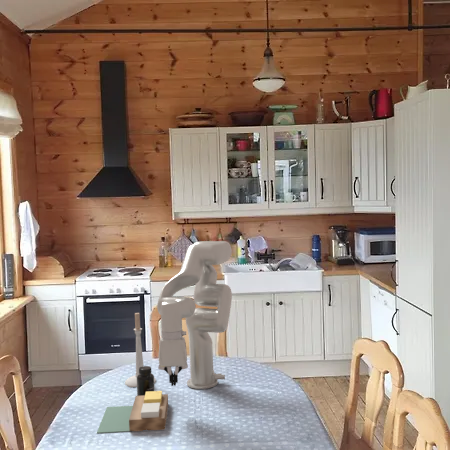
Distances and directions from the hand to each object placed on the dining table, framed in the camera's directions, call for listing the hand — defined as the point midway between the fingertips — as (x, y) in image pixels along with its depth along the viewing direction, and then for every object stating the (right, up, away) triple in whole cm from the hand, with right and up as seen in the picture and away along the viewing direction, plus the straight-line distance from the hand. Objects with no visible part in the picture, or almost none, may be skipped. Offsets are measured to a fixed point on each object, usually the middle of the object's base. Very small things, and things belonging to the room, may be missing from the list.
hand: (173, 384), depth 214 cm
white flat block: (-7, -7, -11) cm, 14 cm away
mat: (-19, -11, -5) cm, 23 cm away
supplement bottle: (-12, -9, +15) cm, 21 cm away
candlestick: (-17, -8, +32) cm, 37 cm away
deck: (-8, -11, -4) cm, 14 cm away
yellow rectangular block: (-7, -6, +1) cm, 10 cm away
